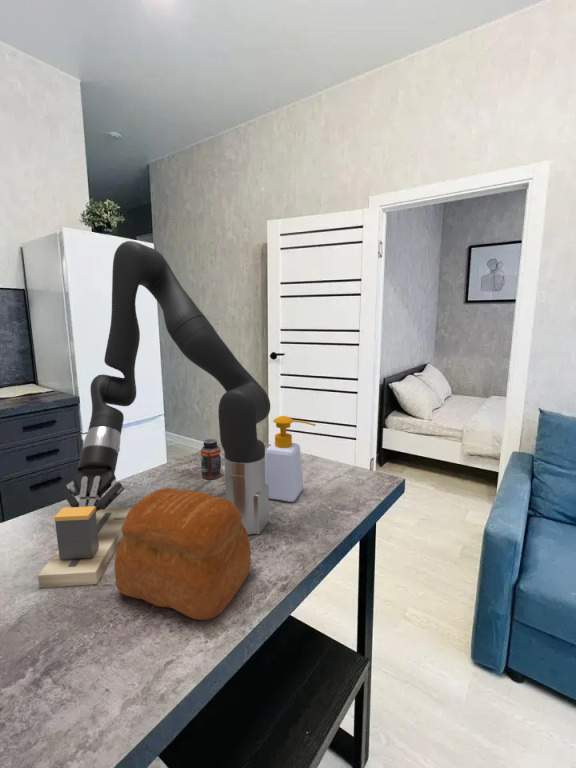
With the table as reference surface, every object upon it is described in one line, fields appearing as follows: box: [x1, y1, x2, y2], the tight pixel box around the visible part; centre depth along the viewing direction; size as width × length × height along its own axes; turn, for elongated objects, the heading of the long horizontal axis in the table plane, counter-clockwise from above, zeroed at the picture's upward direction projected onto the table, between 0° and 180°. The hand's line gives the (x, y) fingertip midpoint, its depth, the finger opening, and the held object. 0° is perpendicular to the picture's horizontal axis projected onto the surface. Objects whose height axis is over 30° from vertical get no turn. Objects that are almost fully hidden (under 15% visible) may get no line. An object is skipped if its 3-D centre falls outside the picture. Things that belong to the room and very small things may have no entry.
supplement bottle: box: [200, 438, 222, 480], centre depth 119 cm, size 6×6×11 cm
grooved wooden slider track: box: [37, 507, 132, 589], centre depth 83 cm, size 24×10×3 cm, turn 6°
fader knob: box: [53, 506, 99, 559], centre depth 76 cm, size 4×6×9 cm, turn 96°
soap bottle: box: [265, 415, 317, 503], centre depth 106 cm, size 10×14×22 cm
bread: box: [114, 487, 252, 621], centre depth 71 cm, size 18×21×17 cm
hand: (83, 530), depth 79 cm, fingers closed
